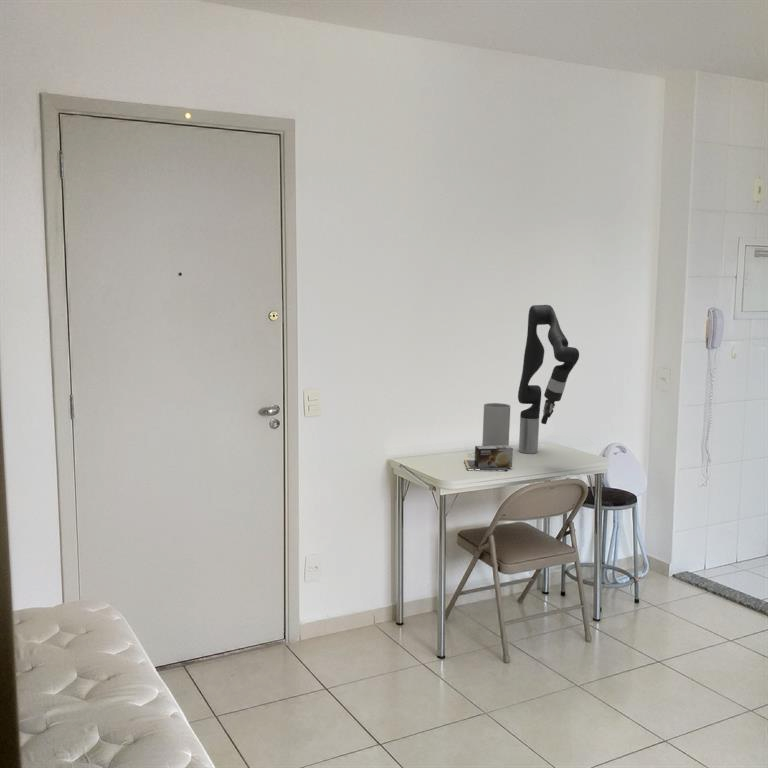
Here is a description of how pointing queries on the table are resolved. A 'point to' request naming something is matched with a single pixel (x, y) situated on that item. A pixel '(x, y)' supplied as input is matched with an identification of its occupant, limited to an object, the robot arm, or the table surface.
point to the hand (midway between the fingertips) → (543, 423)
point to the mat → (471, 466)
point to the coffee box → (493, 456)
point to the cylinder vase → (496, 424)
